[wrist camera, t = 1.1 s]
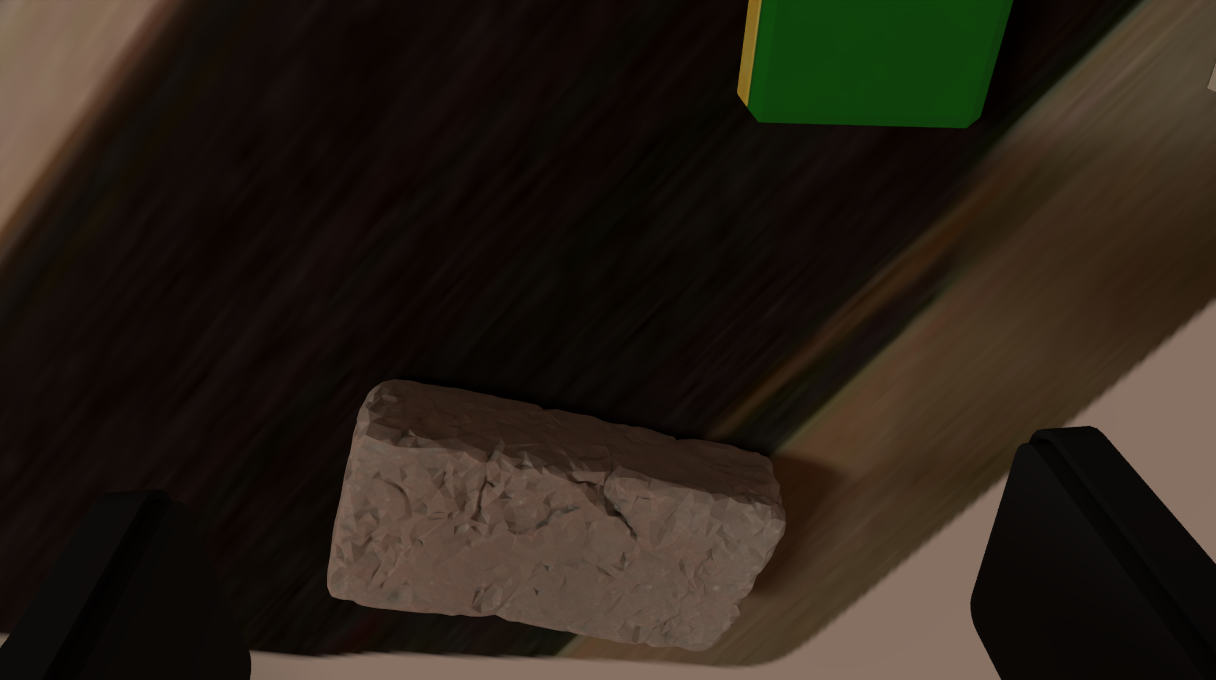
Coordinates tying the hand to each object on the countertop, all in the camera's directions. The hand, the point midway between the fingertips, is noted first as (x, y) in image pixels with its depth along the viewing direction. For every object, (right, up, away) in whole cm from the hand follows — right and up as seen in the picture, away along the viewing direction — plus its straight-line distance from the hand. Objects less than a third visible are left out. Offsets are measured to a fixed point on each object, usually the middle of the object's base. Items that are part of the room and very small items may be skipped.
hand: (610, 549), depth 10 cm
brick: (-2, -3, +25) cm, 26 cm away
